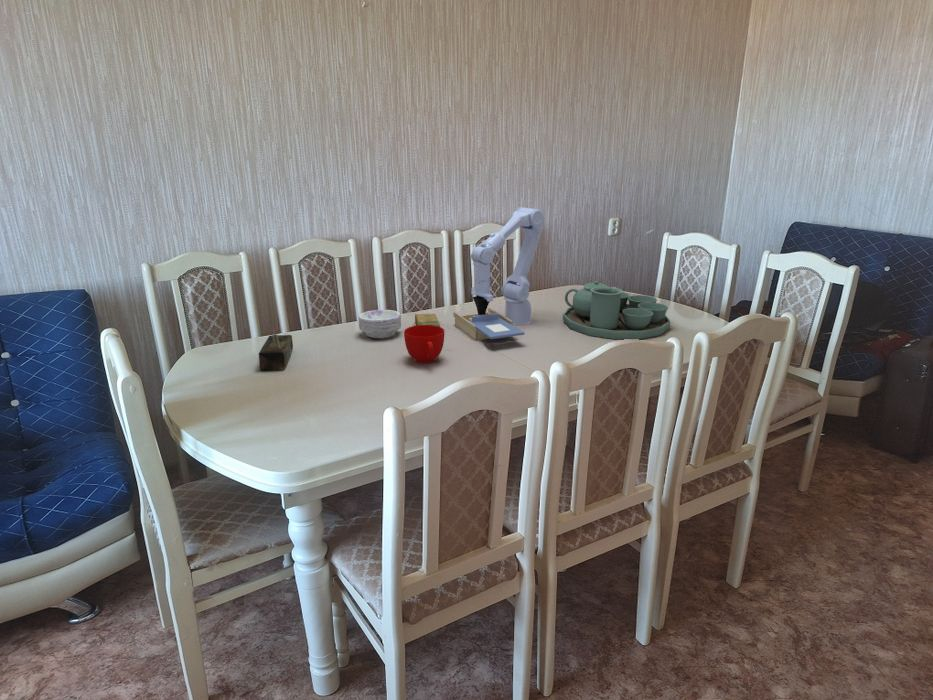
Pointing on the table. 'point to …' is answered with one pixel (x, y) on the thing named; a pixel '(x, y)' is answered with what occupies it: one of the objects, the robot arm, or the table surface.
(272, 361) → the dark brown block
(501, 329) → the lid
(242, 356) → the table surface
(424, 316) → the carton
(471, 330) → the beige shallow box
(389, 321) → the paper bowls
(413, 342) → the ceramic cup
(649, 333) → the tea set
